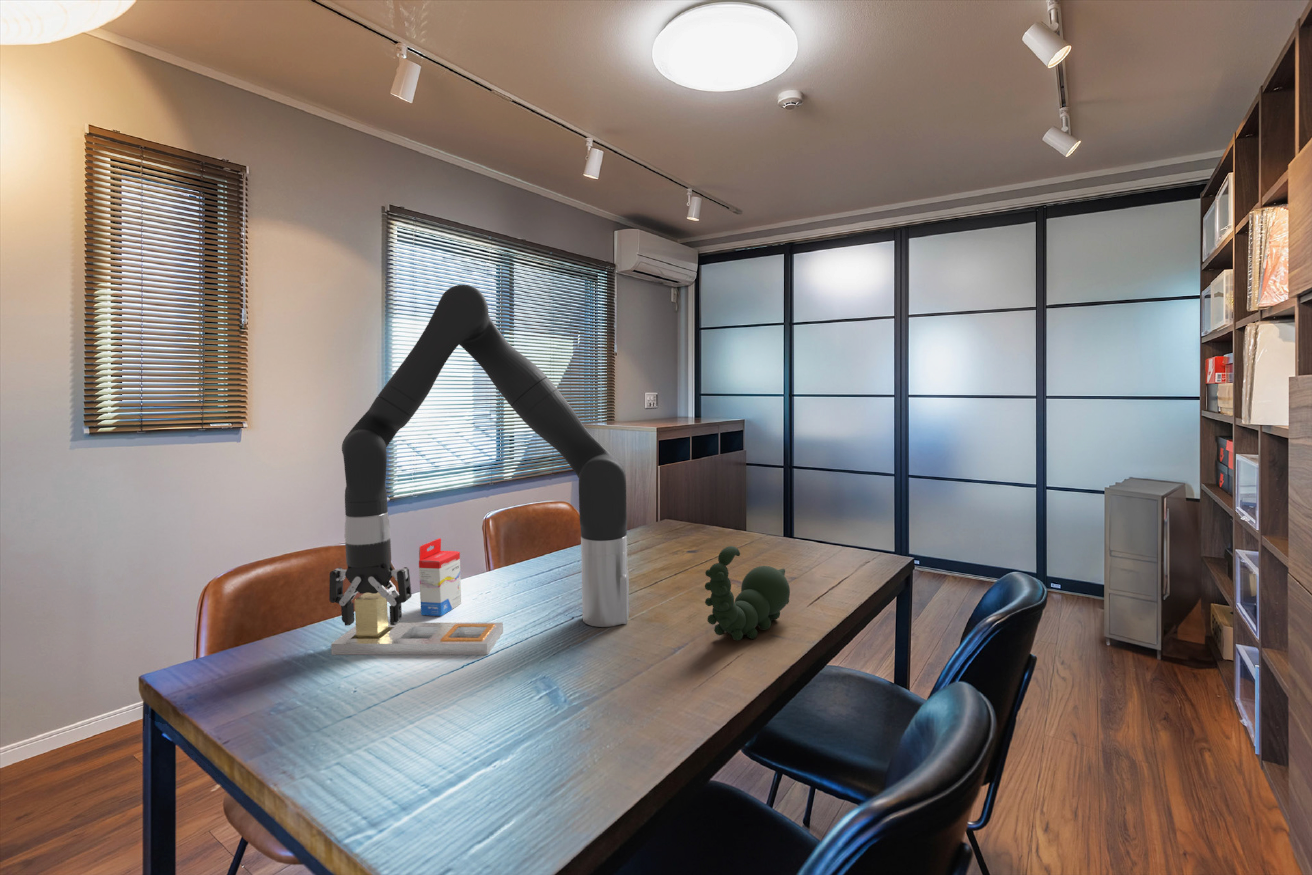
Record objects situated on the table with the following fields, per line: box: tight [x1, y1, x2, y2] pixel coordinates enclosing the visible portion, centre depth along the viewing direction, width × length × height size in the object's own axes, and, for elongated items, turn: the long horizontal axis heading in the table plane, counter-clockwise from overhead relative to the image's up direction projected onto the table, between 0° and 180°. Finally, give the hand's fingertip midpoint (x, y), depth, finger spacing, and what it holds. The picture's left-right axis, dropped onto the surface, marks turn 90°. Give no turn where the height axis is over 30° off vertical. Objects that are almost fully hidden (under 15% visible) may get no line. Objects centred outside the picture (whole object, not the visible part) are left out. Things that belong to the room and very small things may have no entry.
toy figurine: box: [704, 545, 791, 641], centre depth 118 cm, size 9×19×25 cm
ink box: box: [418, 537, 462, 617], centre depth 131 cm, size 8×5×15 cm, turn 168°
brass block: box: [354, 592, 389, 639], centre depth 114 cm, size 4×4×9 cm
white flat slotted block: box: [330, 622, 504, 656], centre depth 114 cm, size 28×10×2 cm, turn 88°
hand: (372, 623), depth 114 cm, fingers open, 8 cm apart
